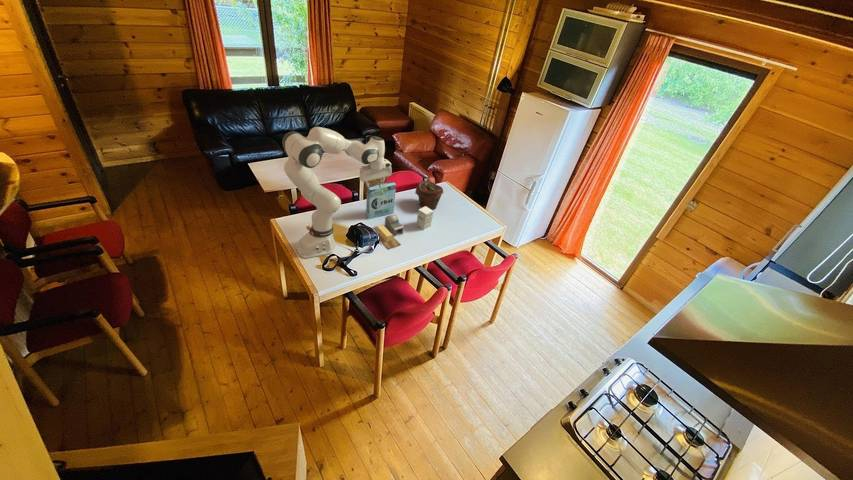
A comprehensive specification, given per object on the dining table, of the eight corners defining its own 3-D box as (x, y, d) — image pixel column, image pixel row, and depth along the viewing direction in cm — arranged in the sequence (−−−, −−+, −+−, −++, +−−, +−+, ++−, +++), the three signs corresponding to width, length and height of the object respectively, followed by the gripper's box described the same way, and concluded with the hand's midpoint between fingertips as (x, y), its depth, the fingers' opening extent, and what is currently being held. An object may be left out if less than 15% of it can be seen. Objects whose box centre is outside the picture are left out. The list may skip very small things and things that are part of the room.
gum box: (390, 209, 258) (393, 181, 244) (394, 213, 254) (396, 184, 241) (365, 215, 248) (366, 186, 234) (368, 219, 245) (370, 190, 231)
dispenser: (402, 233, 237) (404, 221, 231) (394, 236, 234) (395, 224, 228) (393, 223, 244) (394, 212, 239) (384, 226, 241) (385, 214, 235)
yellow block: (391, 239, 230) (392, 234, 227) (386, 241, 227) (386, 236, 225) (382, 229, 237) (382, 224, 234) (376, 231, 235) (377, 226, 232)
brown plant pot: (415, 197, 275) (418, 176, 264) (441, 202, 275) (445, 181, 264) (411, 209, 261) (414, 188, 250) (439, 215, 261) (443, 193, 250)
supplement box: (415, 224, 247) (418, 209, 239) (423, 221, 252) (425, 205, 244) (423, 230, 243) (426, 214, 236) (431, 226, 248) (433, 210, 240)
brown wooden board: (388, 249, 223) (388, 248, 222) (375, 235, 232) (375, 234, 232) (400, 245, 227) (400, 244, 227) (387, 231, 237) (387, 230, 237)
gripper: (362, 169, 205) (362, 190, 213) (393, 163, 216) (392, 183, 224) (357, 164, 209) (357, 185, 217) (388, 158, 219) (386, 179, 228)
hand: (375, 184), depth 221 cm, fingers open, 8 cm apart
